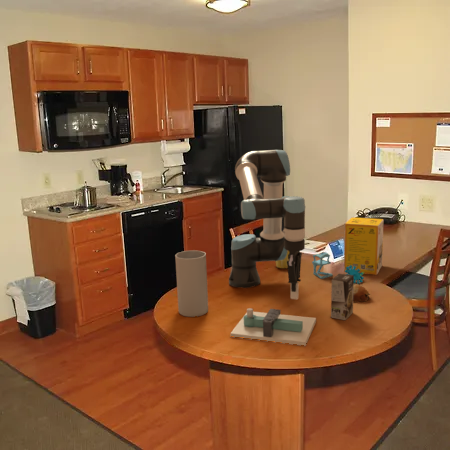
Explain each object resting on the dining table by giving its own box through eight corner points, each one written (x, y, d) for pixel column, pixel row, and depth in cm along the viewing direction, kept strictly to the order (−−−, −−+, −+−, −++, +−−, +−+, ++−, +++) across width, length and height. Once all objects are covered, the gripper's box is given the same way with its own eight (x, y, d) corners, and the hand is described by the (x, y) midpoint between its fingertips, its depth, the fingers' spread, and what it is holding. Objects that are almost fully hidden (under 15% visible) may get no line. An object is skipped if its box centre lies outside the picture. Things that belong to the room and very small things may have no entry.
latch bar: (242, 326, 194) (241, 311, 193) (246, 320, 199) (245, 306, 197) (300, 333, 186) (300, 317, 185) (303, 327, 191) (303, 312, 190)
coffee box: (346, 320, 200) (346, 281, 197) (330, 317, 204) (330, 279, 200) (353, 312, 208) (354, 275, 204) (338, 309, 211) (338, 272, 207)
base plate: (230, 336, 189) (230, 333, 189) (247, 314, 210) (247, 311, 209) (305, 346, 180) (305, 342, 180) (316, 321, 200) (316, 318, 200)
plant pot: (293, 263, 275) (292, 246, 273) (292, 269, 266) (292, 251, 263) (273, 263, 277) (273, 246, 275) (272, 269, 267) (272, 251, 265)
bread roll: (356, 301, 230) (350, 284, 231) (375, 296, 222) (369, 279, 223) (344, 307, 223) (338, 290, 224) (363, 303, 216) (357, 285, 216)
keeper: (262, 336, 186) (261, 321, 184) (270, 322, 197) (270, 308, 196) (272, 337, 184) (272, 322, 183) (280, 323, 196) (280, 309, 194)
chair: (321, 272, 260) (321, 249, 258) (332, 275, 254) (333, 252, 251) (309, 275, 256) (309, 252, 254) (321, 279, 249) (321, 255, 247)
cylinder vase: (211, 306, 219) (209, 250, 214) (203, 318, 207) (201, 259, 202) (183, 305, 222) (180, 250, 216) (174, 316, 210) (171, 258, 204)
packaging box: (350, 262, 274) (351, 217, 268) (382, 265, 267) (383, 219, 261) (343, 271, 260) (344, 223, 254) (376, 274, 253) (378, 225, 247)
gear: (351, 283, 237) (343, 264, 242) (344, 289, 241) (336, 271, 246) (369, 282, 242) (360, 264, 247) (362, 288, 247) (353, 270, 252)
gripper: (289, 233, 196) (289, 291, 201) (279, 242, 184) (280, 303, 190) (308, 234, 193) (308, 293, 199) (300, 244, 181) (299, 306, 187)
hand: (294, 298), depth 194 cm, fingers closed
